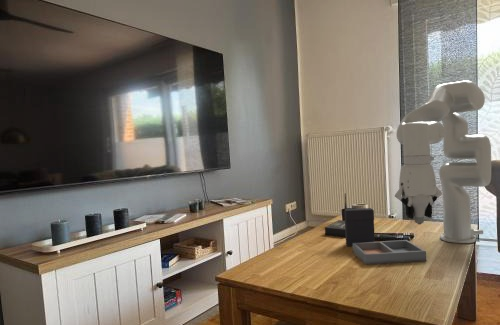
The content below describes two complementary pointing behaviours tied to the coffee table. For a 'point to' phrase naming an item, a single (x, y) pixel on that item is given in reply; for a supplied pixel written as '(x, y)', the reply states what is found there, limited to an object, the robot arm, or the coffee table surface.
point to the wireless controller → (337, 227)
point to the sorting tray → (388, 252)
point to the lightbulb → (420, 207)
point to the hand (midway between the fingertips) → (419, 216)
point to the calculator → (359, 226)
